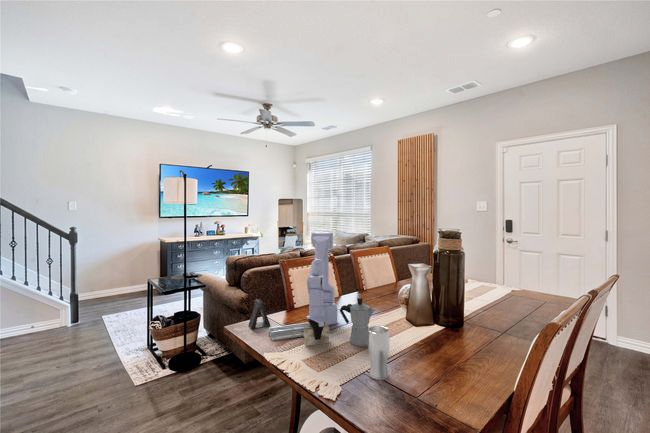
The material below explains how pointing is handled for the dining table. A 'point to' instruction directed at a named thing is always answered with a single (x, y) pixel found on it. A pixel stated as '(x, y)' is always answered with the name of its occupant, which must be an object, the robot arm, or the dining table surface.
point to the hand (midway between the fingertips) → (316, 337)
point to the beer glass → (378, 351)
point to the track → (287, 331)
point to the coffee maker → (358, 322)
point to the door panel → (310, 338)
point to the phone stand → (254, 316)
